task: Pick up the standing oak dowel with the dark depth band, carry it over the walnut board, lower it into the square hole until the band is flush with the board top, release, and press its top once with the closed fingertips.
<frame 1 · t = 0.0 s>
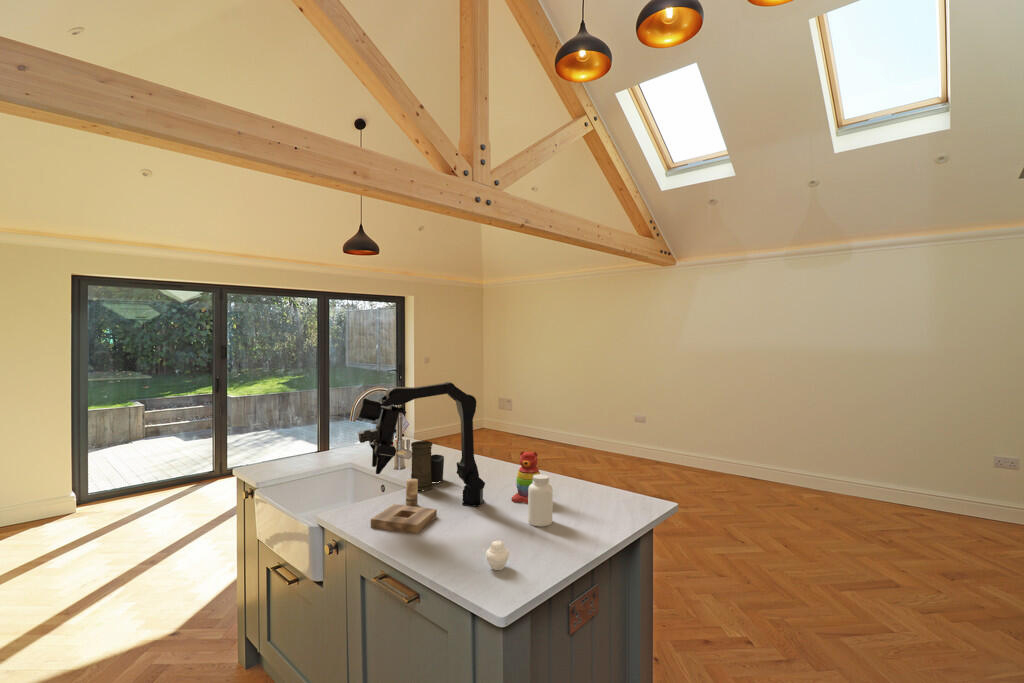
hand: (375, 470, 153), 15 cm above the worktop, tool pointing down, fingers open, 9 cm apart
cream rounded piece: (497, 568, 119), on the worktop
board: (404, 521, 149), on the worktop
pen holder: (432, 481, 193), on the worktop
pill bottle: (540, 523, 150), on the worktop
stacking bear: (528, 500, 172), on the worktop
container: (421, 488, 184), on the worktop
peg: (411, 505, 164), on the worktop
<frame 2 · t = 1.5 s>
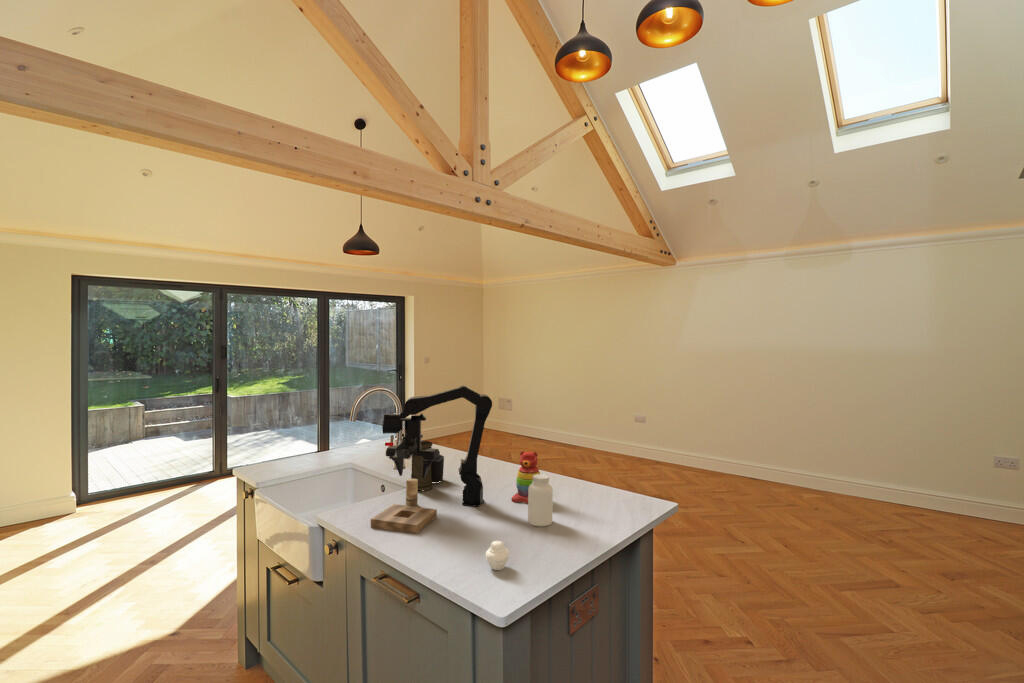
hand: (412, 476, 164), 10 cm above the worktop, tool pointing down, fingers open, 9 cm apart
nothing on the worktop moved.
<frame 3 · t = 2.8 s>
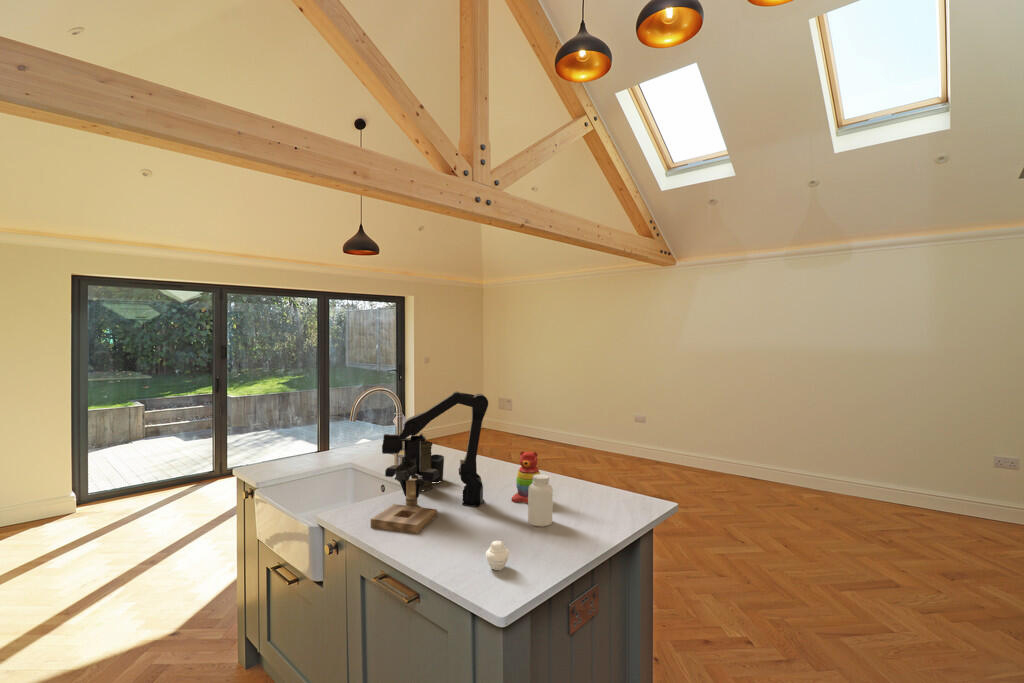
hand: (411, 497, 164), 3 cm above the worktop, tool pointing down, fingers closed on peg, 4 cm apart
peg: (411, 505, 164), on the worktop, touching gripper
everything else where it was.
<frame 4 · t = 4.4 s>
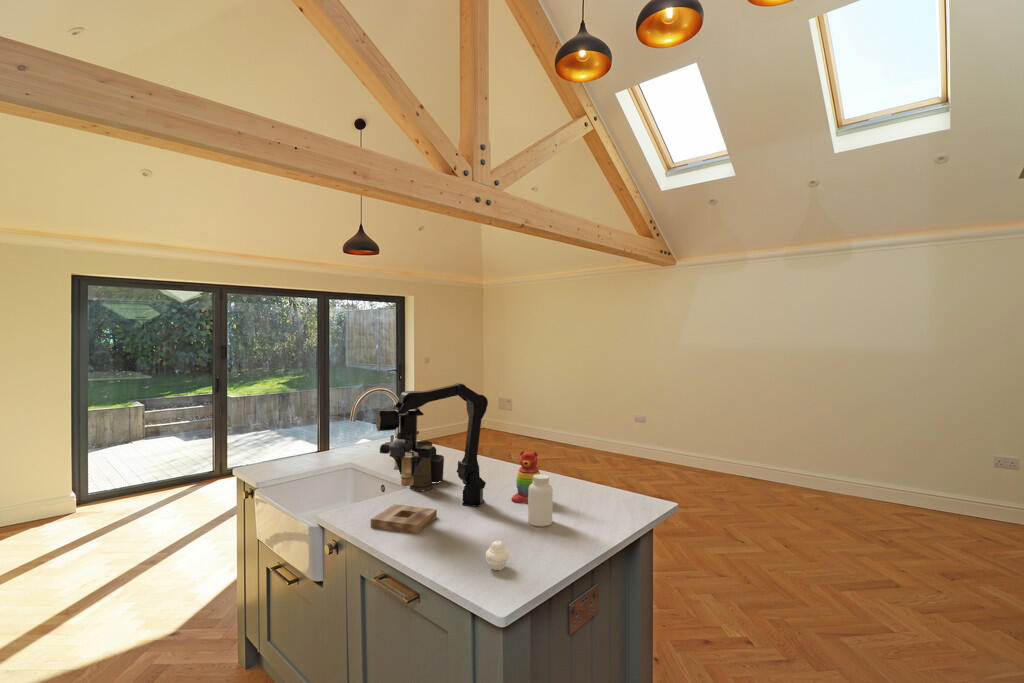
hand: (407, 475, 155), 13 cm above the worktop, tool pointing down, fingers closed on peg, 4 cm apart
peg: (407, 484, 155), point 10 cm above the worktop, touching gripper
everything else where it was.
when the fingers open (4 cm above the worktop, at t = 6.6 s): peg stays where it is, resting in board.
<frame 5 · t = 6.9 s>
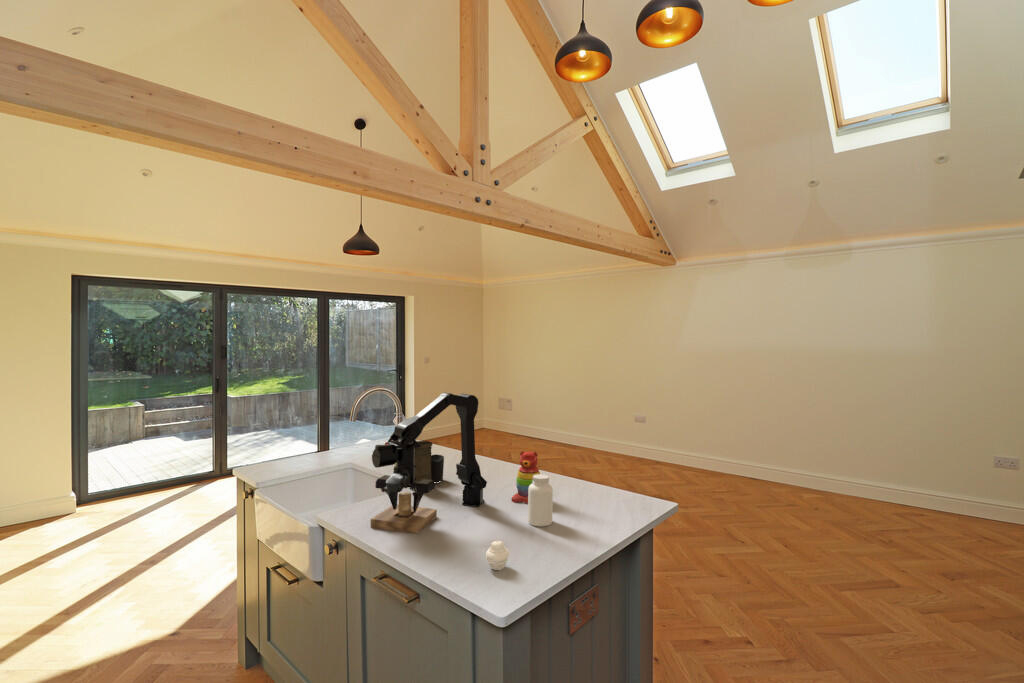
hand: (404, 510, 149), 4 cm above the worktop, tool pointing down, fingers open, 7 cm apart
peg: (404, 521, 149), resting in board
everything else where it was.
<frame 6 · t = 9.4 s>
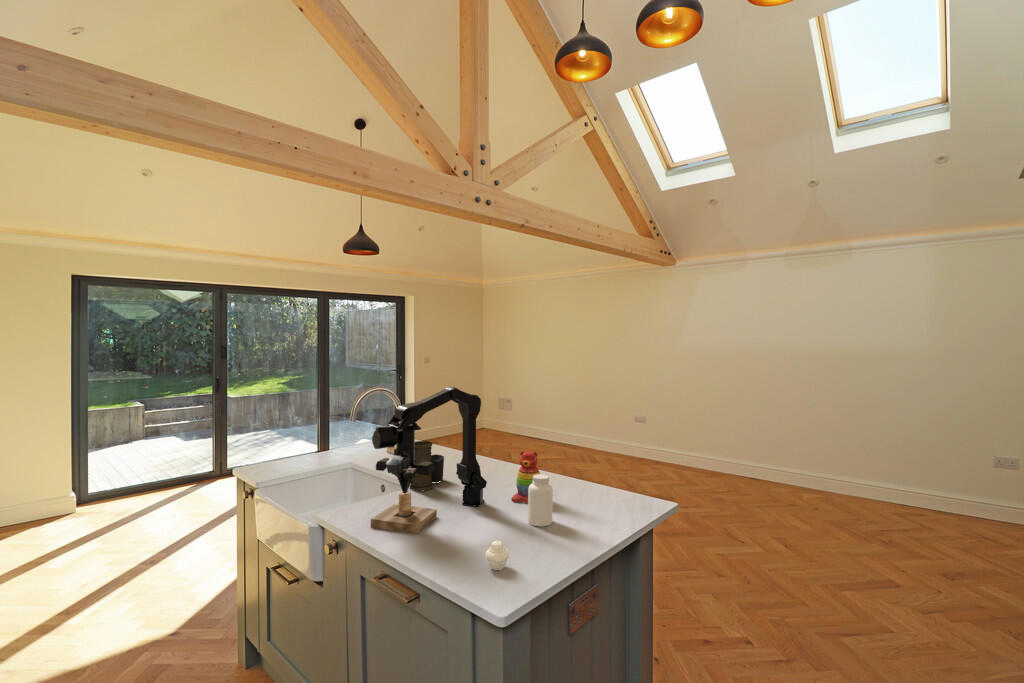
hand: (405, 492, 149), 9 cm above the worktop, tool pointing down, fingers closed
nothing on the worktop moved.
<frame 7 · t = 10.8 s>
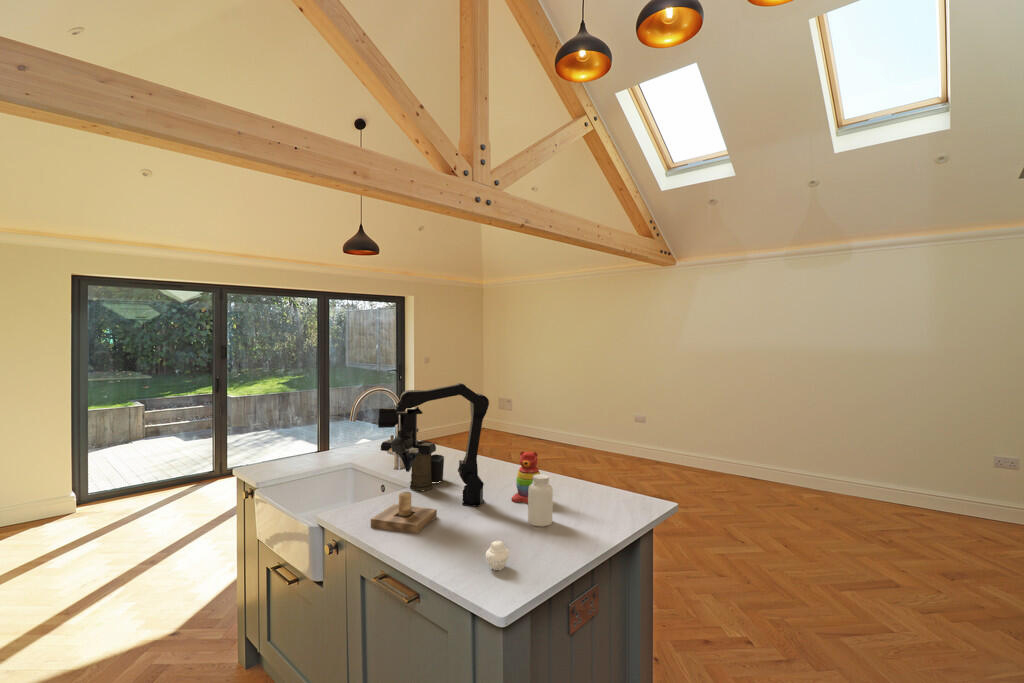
hand: (407, 471, 161), 13 cm above the worktop, tool pointing down, fingers closed
nothing on the worktop moved.
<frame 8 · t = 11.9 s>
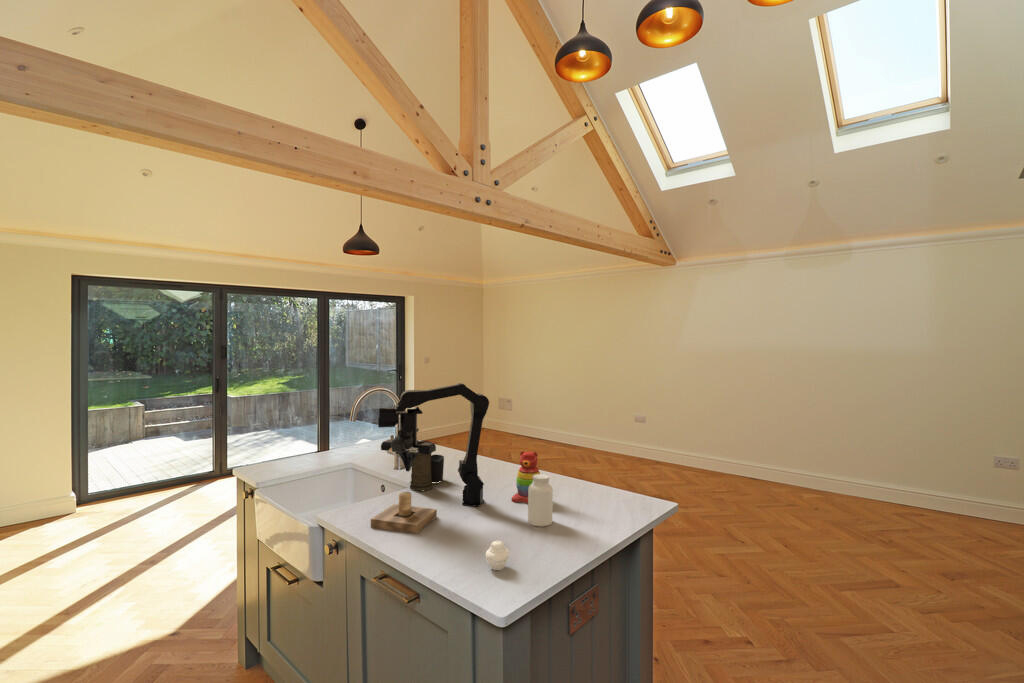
hand: (407, 471, 161), 13 cm above the worktop, tool pointing down, fingers closed
nothing on the worktop moved.
at the end: peg 0.0 cm off-centre on the board, point 0.0 cm above the board's base; peg tilted 0°; the gripper is holding nothing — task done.
